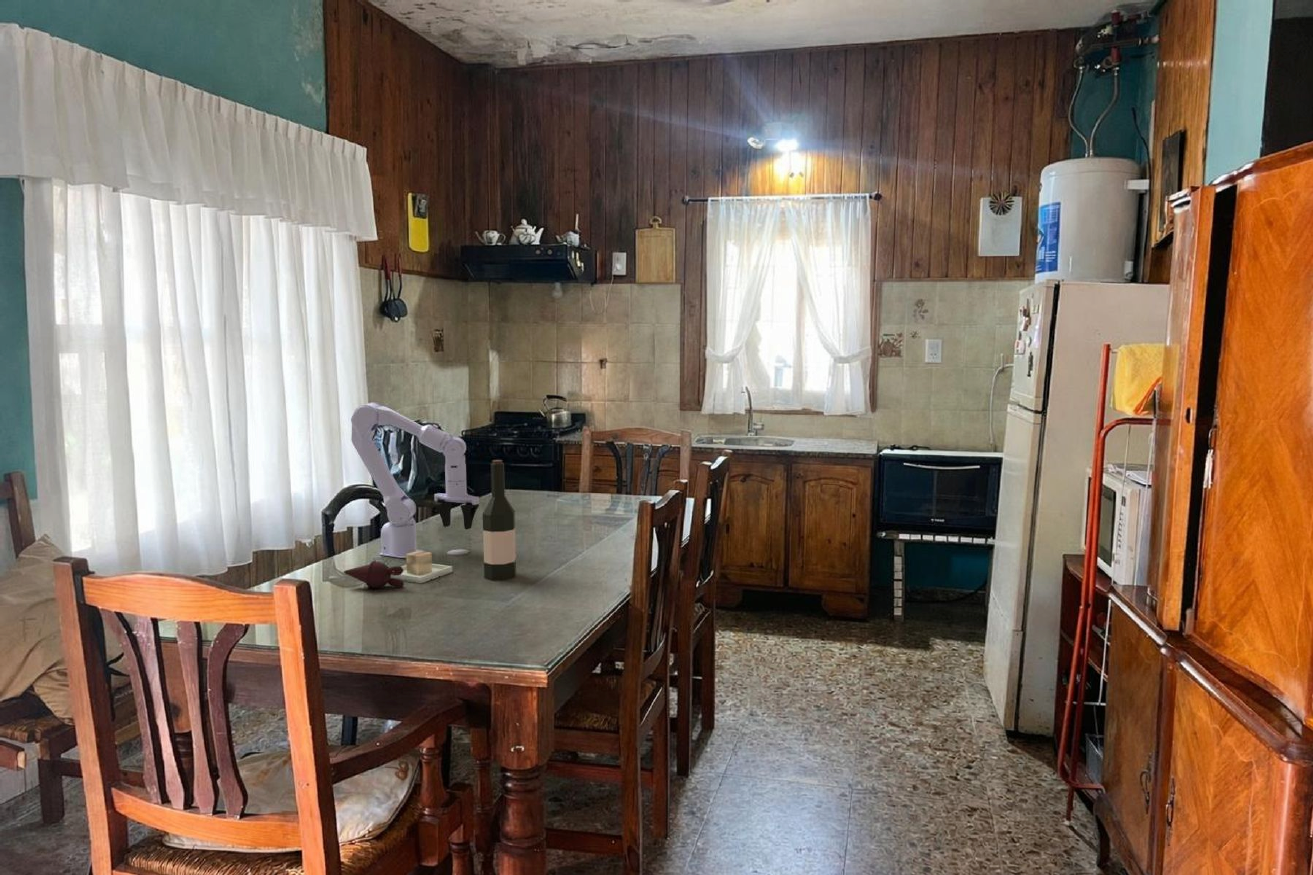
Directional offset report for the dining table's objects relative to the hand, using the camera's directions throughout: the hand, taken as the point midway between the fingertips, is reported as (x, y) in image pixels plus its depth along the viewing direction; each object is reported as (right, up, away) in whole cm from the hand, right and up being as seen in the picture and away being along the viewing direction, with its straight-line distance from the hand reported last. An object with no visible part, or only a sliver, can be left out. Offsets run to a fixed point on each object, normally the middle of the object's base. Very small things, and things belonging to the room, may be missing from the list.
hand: (457, 527), depth 245 cm
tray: (-5, -10, -22) cm, 25 cm away
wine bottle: (+17, -10, -24) cm, 31 cm away
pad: (0, -7, +1) cm, 7 cm away
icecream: (-13, -12, -34) cm, 38 cm away
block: (-5, -9, -22) cm, 24 cm away
